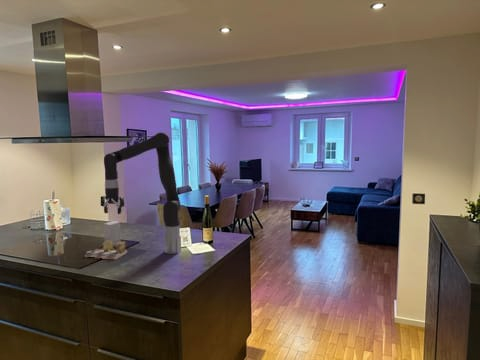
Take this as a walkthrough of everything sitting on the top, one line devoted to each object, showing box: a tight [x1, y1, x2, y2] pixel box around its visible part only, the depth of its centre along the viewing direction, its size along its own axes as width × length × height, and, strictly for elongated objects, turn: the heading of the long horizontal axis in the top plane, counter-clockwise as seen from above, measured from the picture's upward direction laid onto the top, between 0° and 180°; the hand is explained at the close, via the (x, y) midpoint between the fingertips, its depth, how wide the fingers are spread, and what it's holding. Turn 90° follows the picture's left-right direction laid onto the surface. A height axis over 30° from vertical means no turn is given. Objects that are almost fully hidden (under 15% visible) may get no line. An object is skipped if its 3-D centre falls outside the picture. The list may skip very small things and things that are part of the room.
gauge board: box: [84, 241, 128, 260], centre depth 192 cm, size 20×13×8 cm, turn 80°
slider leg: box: [101, 240, 114, 252], centre depth 192 cm, size 3×8×6 cm, turn 170°
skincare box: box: [103, 220, 122, 247], centre depth 210 cm, size 8×7×16 cm
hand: (112, 213), depth 189 cm, fingers open, 8 cm apart
